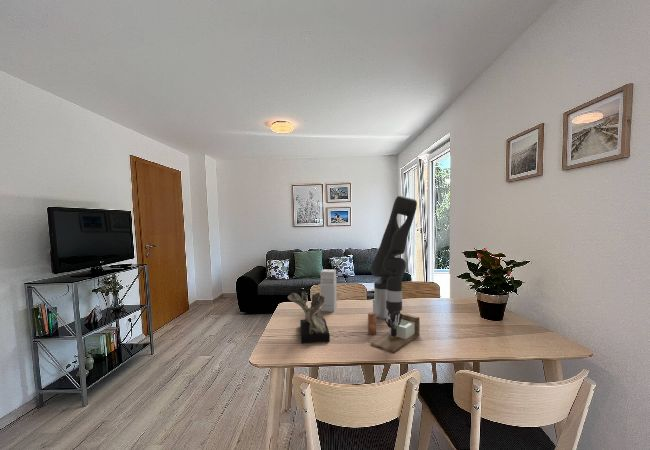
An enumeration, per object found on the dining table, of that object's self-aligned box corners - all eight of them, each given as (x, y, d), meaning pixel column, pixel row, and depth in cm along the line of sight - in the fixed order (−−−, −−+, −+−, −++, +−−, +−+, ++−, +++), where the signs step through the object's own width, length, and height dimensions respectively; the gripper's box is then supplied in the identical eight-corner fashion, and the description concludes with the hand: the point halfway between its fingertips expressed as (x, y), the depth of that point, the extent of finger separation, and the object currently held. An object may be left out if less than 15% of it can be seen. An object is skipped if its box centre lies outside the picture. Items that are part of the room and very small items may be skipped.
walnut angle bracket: (370, 345, 131) (370, 325, 131) (397, 328, 149) (397, 311, 149) (393, 353, 123) (393, 332, 122) (419, 335, 141) (419, 317, 140)
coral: (330, 345, 132) (329, 299, 131) (286, 347, 130) (285, 301, 129) (326, 324, 156) (325, 286, 156) (289, 326, 155) (288, 287, 154)
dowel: (366, 333, 144) (366, 313, 144) (371, 330, 147) (370, 311, 146) (373, 335, 141) (373, 315, 141) (377, 333, 144) (377, 313, 144)
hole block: (389, 334, 140) (389, 323, 140) (398, 328, 146) (398, 318, 146) (405, 339, 134) (405, 328, 133) (414, 333, 140) (414, 322, 140)
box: (336, 307, 186) (336, 269, 185) (334, 311, 177) (333, 272, 177) (324, 306, 187) (323, 269, 187) (321, 310, 179) (320, 271, 178)
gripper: (394, 295, 142) (393, 329, 142) (379, 300, 132) (379, 337, 132) (408, 298, 137) (407, 334, 137) (393, 303, 127) (393, 342, 127)
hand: (393, 335), depth 135 cm, fingers closed
